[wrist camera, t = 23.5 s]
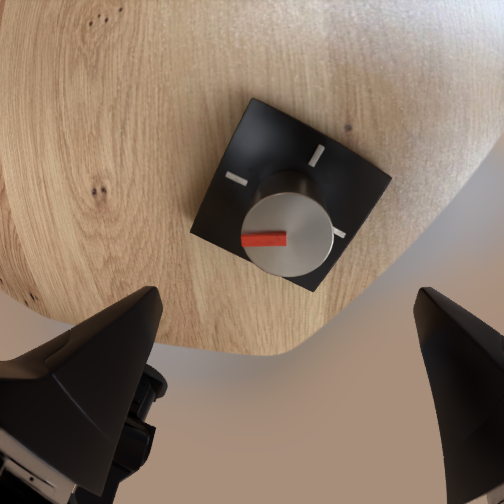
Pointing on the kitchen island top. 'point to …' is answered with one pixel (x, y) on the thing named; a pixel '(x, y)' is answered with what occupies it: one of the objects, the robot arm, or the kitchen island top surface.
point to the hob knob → (287, 226)
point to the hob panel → (287, 159)
